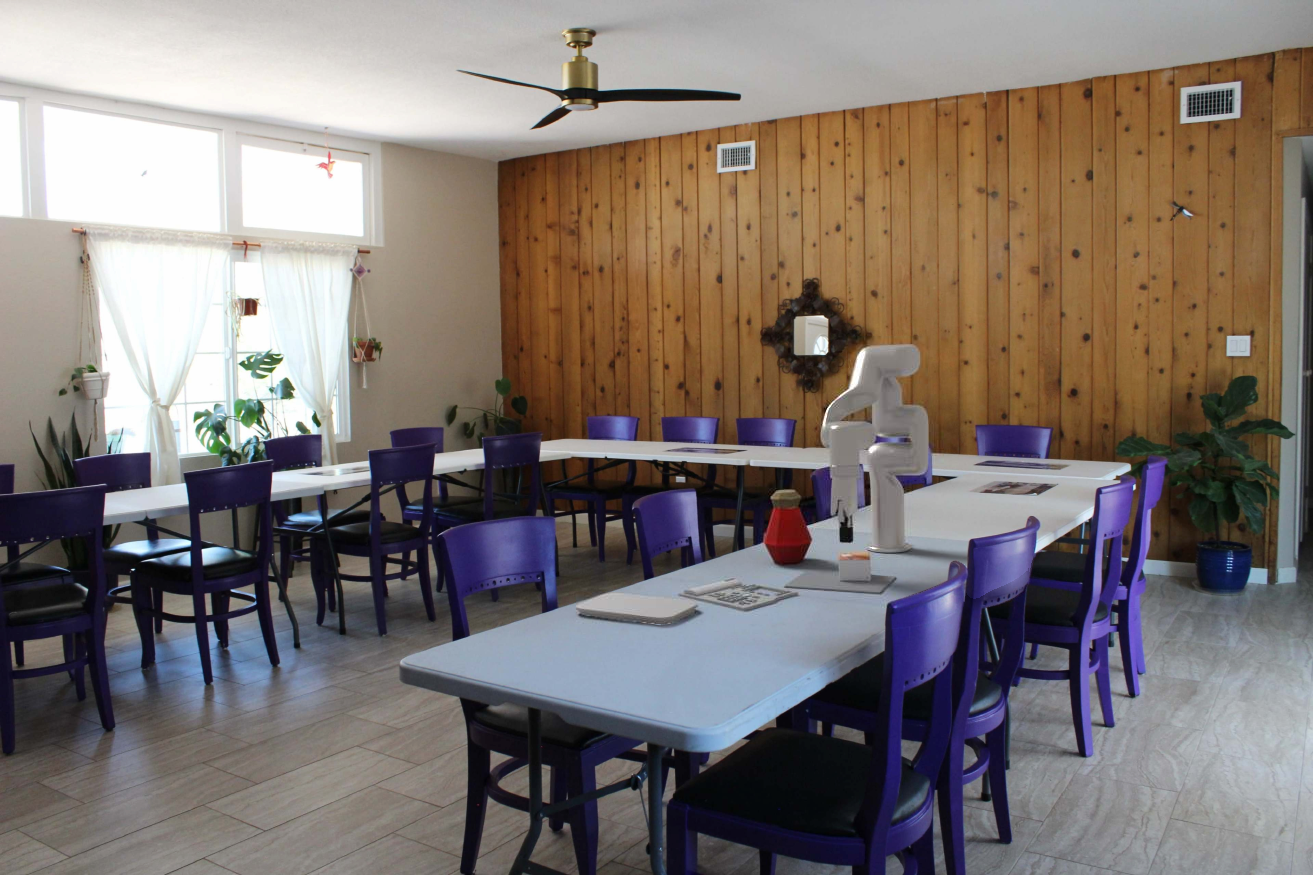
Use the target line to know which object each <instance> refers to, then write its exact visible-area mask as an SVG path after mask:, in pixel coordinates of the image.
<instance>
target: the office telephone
mask: <svg viewBox="0 0 1313 875" xmlns="http://www.w3.org/2000/svg"><path fill="white" fill-rule="evenodd" d="M758 589H760V590H761V589H762V590H767V591H771V592H776V593H775V594H770V593H763V592H756V591H755V590H758ZM798 594H799V593H798V591H797V590H793V589H792V590H791V589H789V588H788V589H787V588H781V587H778V586H771V585H766V584H761V583H753V584H749V585H747V584H746V583H743V582H741V581H740V580H738V579H736V578H730V579H725V580H721V581H717V582H713V583H710V584H705V585H701V586H698V587H693V588H688V589H686V590H684V591H683V592H678V593H677V595H678V596H680V597H683V598H688V599H690V600H694V601H695V600H696V601H700V602H705V603H708V604H714V605H717V606H721V607H726V608H730V609H734V610H738V611H741V612H747V611H751V610H753V609H757V608H758V609H759V608H761V607H765V606H768V605H771V604H774V603H776V601H777V602H778V601H781V600H784V599H787V598H791V597H794V596H798Z"/></svg>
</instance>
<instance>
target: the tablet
mask: <svg viewBox="0 0 1313 875" xmlns="http://www.w3.org/2000/svg"><path fill="white" fill-rule="evenodd" d="M698 607H699V602H698V601H697V600H696V601H695V600H692V599H680V598H670V597H662V596H652V595H641V594H633V593H623V592H611V593H610V592H609V593H604V594H601V595H598V596H596V597H593V598H591V599H588V600H586V601H583V602H581V603H579V604H578V603H577V605H576V606H575V609H576V610H577V611H578V614H579V613H580V614H582V615H589V616H595V617H594V618H597V617H601V618H600V619H605V618H609V619H608V620H613V619H619V620H618V621H621V620H627V621H626V622H629V621H636V622H635V623H637V622H646V623H654V624H668V623H672V622H674V623H676V622H678V621H680V620H682V619H684V618H686V617H688V616H690V615H692V614H694V613H695V612H696V609H697V608H698ZM580 614H579V615H580ZM582 615H581V616H582ZM589 616H588V617H589ZM685 616H686V617H685ZM683 617H684V618H683ZM681 618H682V619H681ZM679 619H680V620H679ZM677 620H678V621H677ZM675 621H676V622H675ZM646 623H645V624H646ZM654 624H653V625H654ZM672 624H673V623H672ZM668 625H669V624H668Z"/></svg>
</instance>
